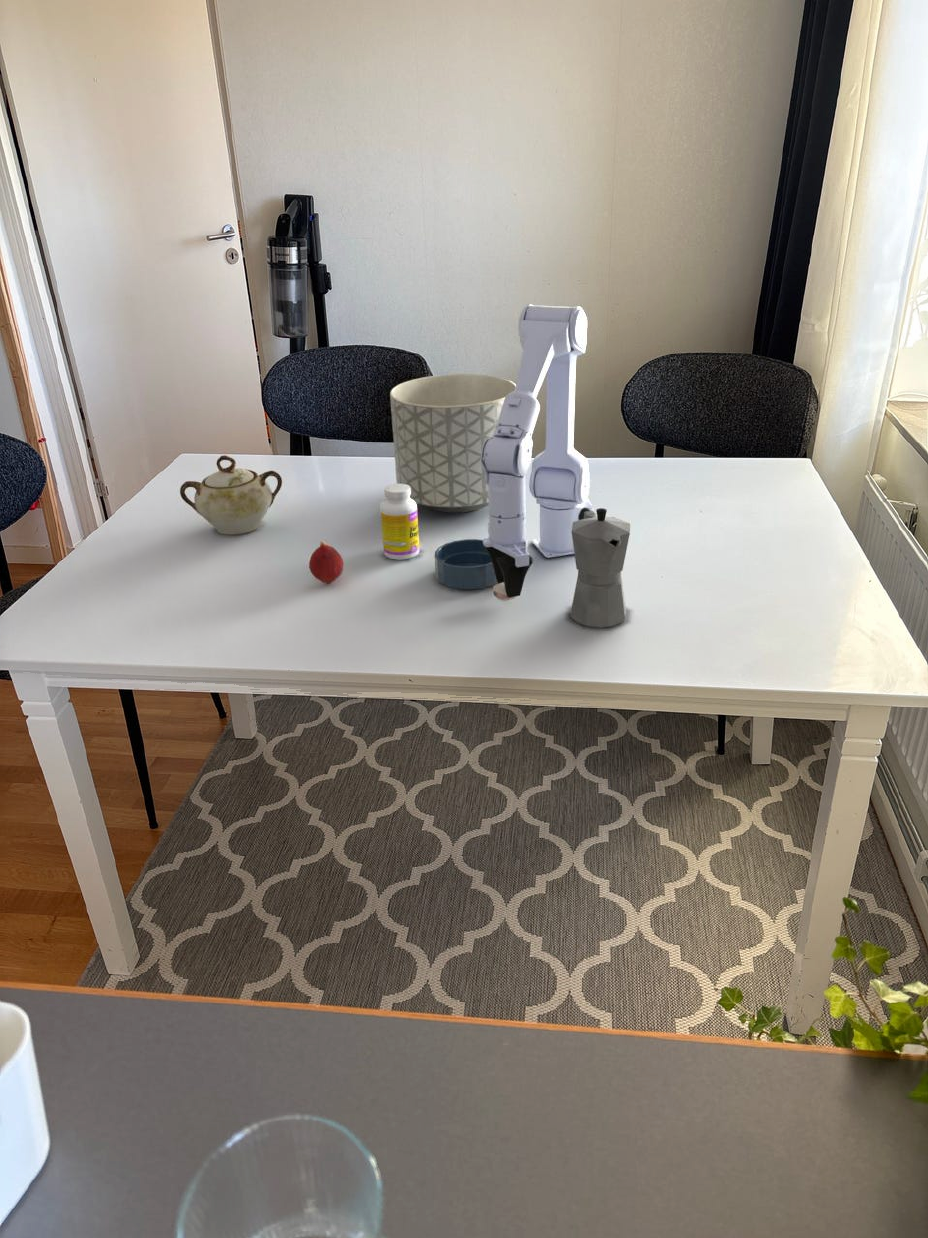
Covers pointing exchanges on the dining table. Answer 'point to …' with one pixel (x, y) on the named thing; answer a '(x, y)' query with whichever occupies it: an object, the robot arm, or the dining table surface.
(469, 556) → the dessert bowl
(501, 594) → the beige pebble
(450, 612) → the dining table surface
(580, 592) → the coffeepot
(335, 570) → the onion
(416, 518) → the supplement bottle
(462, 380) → the planter
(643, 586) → the dining table surface
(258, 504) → the sugar bowl
